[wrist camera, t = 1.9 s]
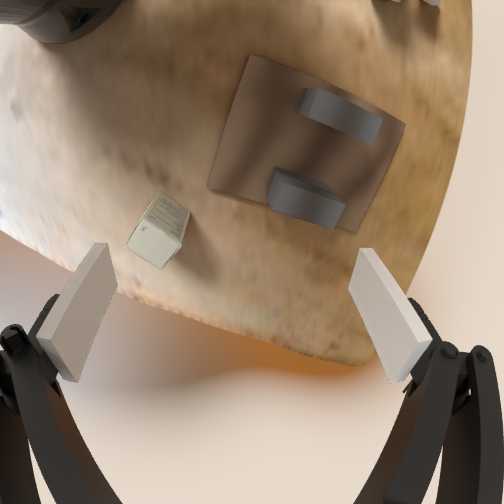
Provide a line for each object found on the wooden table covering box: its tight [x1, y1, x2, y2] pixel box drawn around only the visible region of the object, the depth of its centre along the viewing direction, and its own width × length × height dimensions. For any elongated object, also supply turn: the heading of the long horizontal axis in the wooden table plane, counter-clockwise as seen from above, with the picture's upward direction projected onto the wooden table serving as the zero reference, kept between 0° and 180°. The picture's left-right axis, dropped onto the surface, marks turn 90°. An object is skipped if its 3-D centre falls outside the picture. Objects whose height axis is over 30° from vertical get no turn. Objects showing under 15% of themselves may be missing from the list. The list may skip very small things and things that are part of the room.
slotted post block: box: [207, 54, 406, 232], centre depth 28 cm, size 20×16×7 cm
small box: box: [125, 191, 191, 270], centre depth 31 cm, size 5×4×8 cm
